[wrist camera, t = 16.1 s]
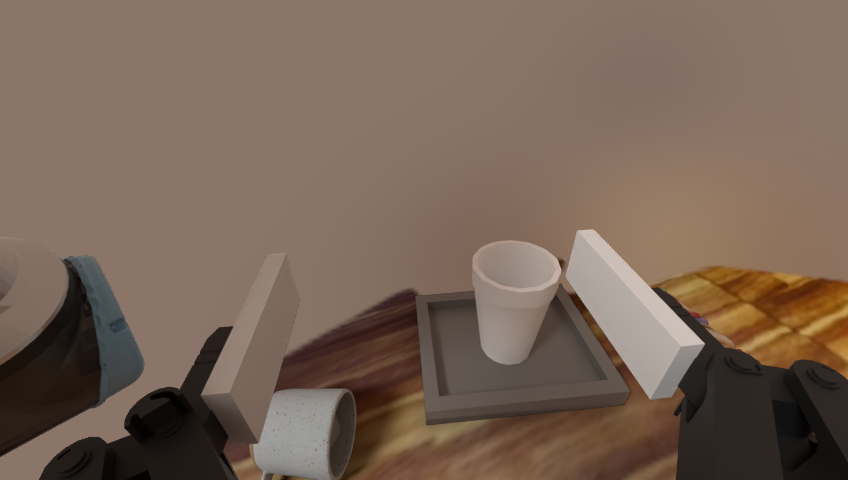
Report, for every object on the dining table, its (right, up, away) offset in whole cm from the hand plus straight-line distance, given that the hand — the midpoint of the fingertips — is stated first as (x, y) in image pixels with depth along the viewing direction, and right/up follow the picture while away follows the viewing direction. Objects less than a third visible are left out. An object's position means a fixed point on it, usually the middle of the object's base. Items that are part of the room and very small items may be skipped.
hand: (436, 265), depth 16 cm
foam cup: (+10, -13, +29) cm, 33 cm away
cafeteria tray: (+10, -13, +29) cm, 34 cm away
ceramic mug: (-12, -21, +19) cm, 31 cm away
